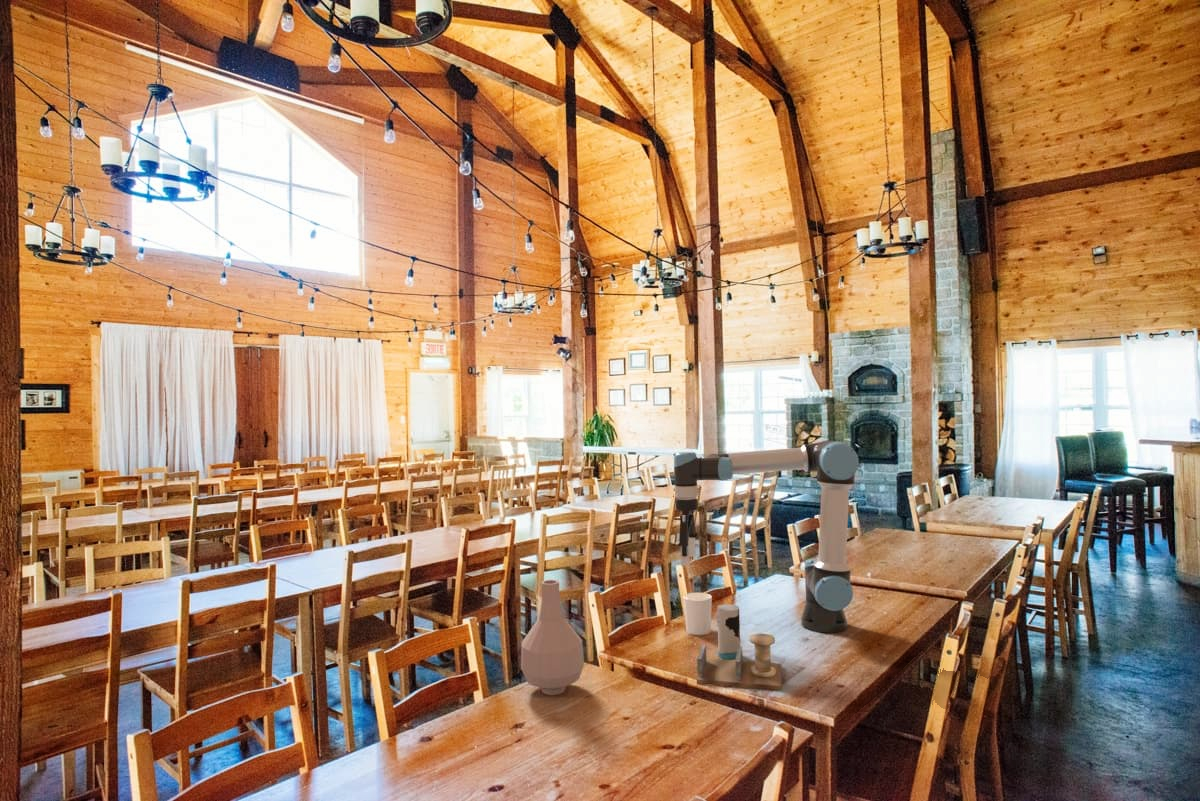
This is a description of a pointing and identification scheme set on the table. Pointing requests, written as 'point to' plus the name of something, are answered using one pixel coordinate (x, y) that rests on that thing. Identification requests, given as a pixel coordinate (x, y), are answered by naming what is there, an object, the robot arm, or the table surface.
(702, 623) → the candle holder
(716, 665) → the winding board
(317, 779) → the table surface
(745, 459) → the robot arm
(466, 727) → the table surface
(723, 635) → the cup
